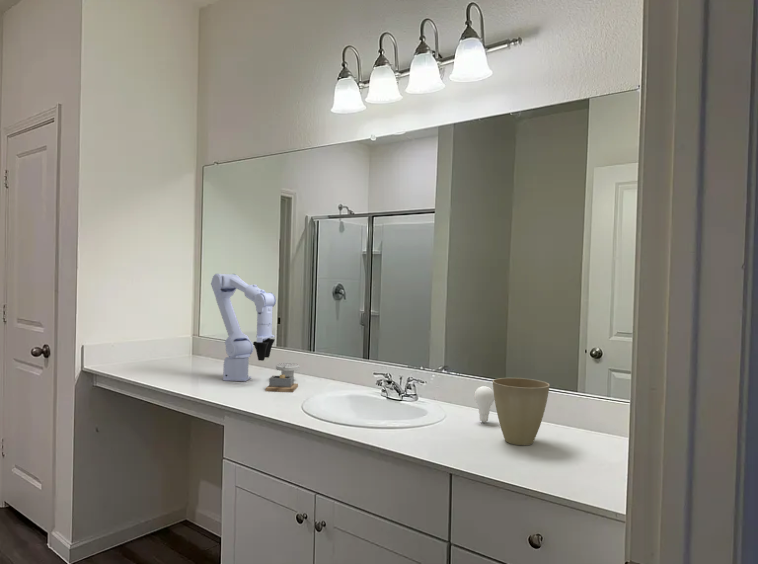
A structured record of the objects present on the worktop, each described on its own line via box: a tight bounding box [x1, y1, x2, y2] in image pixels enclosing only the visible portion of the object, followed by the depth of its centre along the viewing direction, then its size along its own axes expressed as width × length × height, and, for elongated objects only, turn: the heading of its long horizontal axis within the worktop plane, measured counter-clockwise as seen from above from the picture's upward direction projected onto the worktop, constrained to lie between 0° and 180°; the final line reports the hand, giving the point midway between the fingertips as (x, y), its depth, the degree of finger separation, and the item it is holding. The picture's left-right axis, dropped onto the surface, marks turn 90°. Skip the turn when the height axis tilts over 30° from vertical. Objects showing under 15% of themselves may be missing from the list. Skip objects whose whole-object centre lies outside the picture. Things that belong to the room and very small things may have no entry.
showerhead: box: [275, 362, 300, 377], centre depth 224 cm, size 9×7×10 cm
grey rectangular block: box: [268, 375, 295, 388], centre depth 209 cm, size 8×6×3 cm
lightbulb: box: [473, 385, 495, 424], centre depth 169 cm, size 6×6×11 cm
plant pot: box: [492, 377, 550, 446], centre depth 150 cm, size 15×15×16 cm
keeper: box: [265, 374, 299, 393], centre depth 209 cm, size 10×10×5 cm
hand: (263, 358), depth 217 cm, fingers open, 7 cm apart
